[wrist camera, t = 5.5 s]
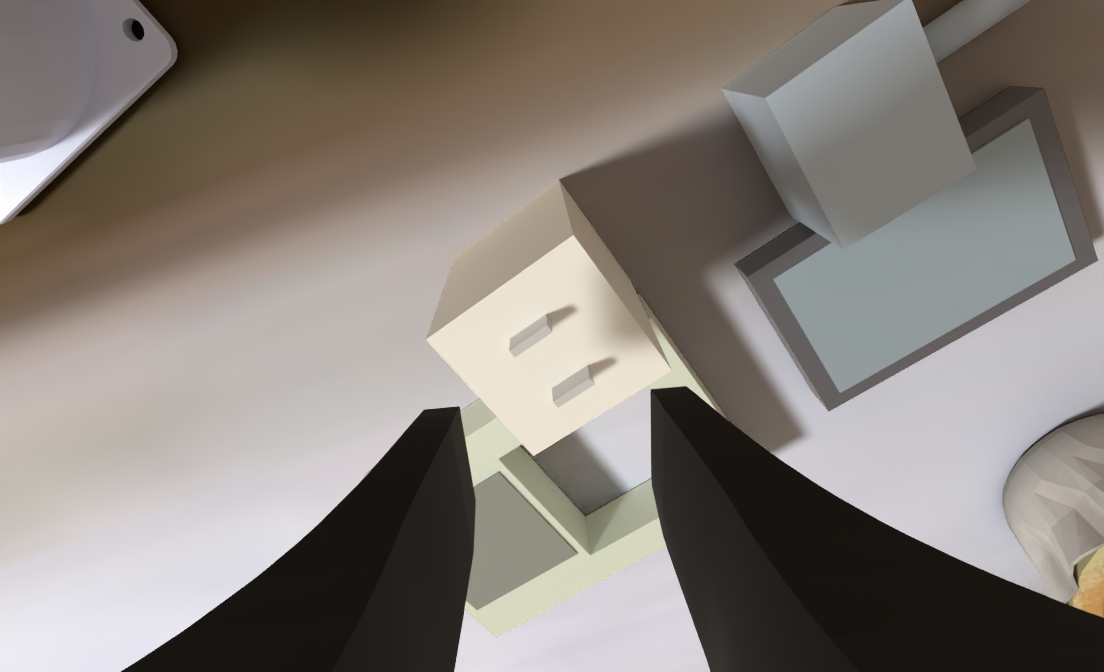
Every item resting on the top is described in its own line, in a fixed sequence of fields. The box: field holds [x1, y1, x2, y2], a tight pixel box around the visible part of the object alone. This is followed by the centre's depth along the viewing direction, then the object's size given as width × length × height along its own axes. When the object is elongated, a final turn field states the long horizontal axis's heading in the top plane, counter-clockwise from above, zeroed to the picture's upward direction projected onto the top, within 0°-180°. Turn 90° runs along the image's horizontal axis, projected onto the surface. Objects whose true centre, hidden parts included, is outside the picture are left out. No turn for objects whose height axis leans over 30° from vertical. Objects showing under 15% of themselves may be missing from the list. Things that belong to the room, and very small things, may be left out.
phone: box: [735, 86, 1098, 411], centre depth 19 cm, size 6×9×1 cm, turn 126°
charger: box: [426, 179, 672, 456], centre depth 16 cm, size 4×4×7 cm
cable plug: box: [722, 0, 1031, 250], centre depth 15 cm, size 4×8×4 cm, turn 126°
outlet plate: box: [364, 294, 729, 638], centre depth 21 cm, size 8×12×2 cm, turn 126°
